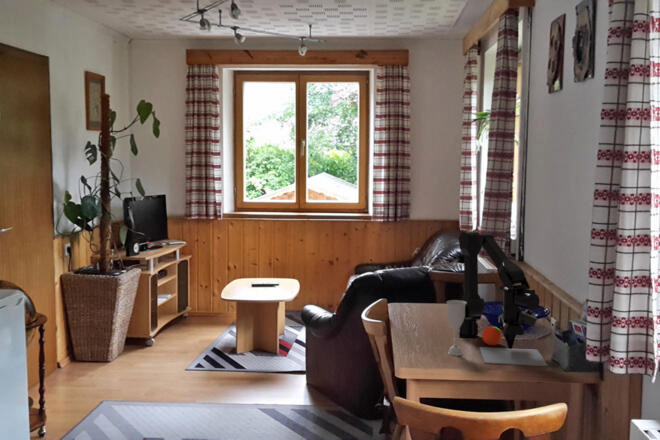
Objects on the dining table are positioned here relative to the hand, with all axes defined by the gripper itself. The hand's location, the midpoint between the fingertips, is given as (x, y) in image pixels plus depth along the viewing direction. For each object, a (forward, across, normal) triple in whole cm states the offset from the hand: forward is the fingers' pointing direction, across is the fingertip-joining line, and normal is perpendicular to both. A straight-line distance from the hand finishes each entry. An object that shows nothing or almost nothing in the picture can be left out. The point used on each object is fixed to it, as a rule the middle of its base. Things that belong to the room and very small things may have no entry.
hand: (510, 348), depth 224 cm
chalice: (+2, -4, +19) cm, 19 cm away
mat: (+2, -5, 0) cm, 5 cm away
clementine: (+2, +9, +5) cm, 10 cm away
